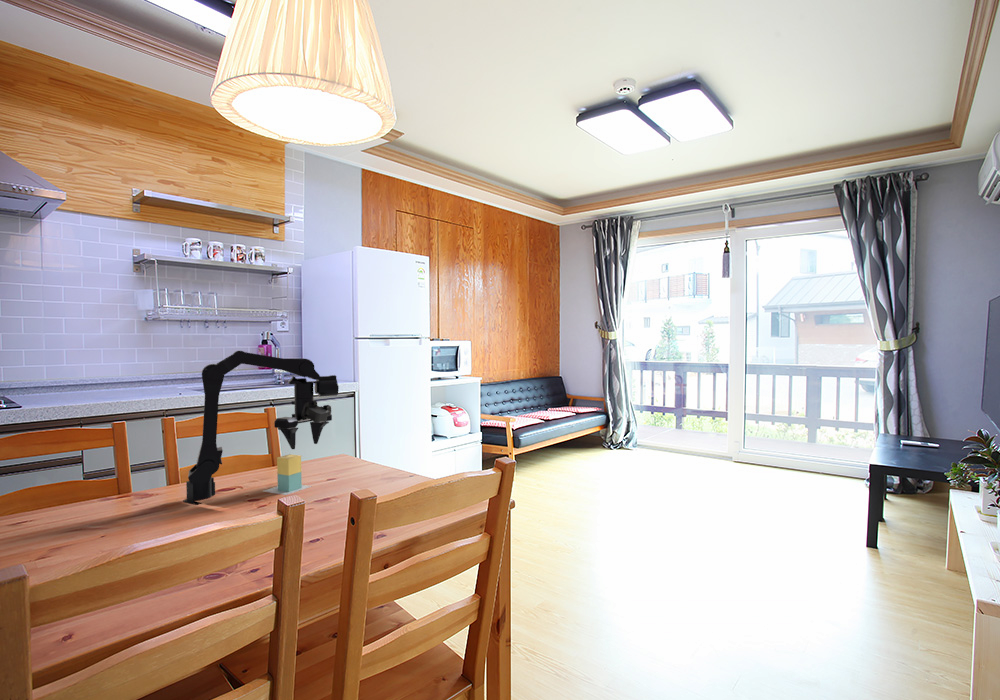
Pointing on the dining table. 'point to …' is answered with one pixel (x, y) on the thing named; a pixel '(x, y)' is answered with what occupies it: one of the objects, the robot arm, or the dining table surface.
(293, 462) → the ochre brick
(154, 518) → the dining table surface
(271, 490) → the build plate
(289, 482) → the teal brick
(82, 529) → the dining table surface
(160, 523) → the dining table surface
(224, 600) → the dining table surface
